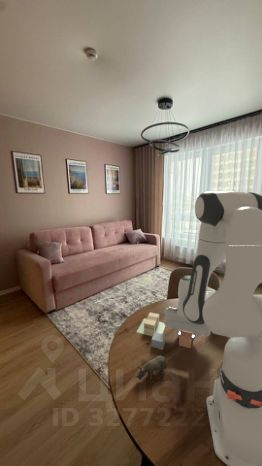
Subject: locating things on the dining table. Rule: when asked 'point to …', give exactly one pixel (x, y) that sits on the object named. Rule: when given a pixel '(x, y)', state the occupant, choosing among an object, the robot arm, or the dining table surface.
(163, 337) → the slate cube
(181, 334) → the terracotta brick
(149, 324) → the beech brick
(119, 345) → the dining table surface
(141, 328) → the base plate
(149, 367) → the rhino figurine
